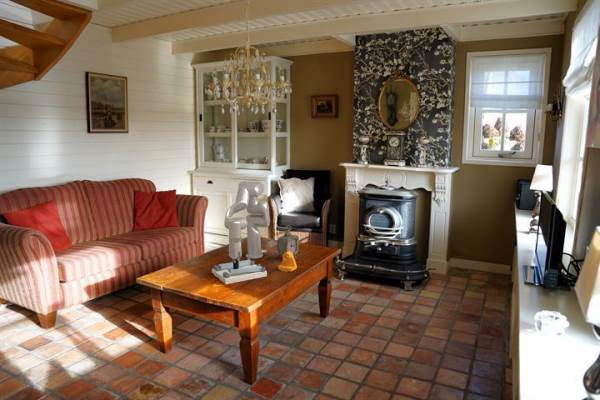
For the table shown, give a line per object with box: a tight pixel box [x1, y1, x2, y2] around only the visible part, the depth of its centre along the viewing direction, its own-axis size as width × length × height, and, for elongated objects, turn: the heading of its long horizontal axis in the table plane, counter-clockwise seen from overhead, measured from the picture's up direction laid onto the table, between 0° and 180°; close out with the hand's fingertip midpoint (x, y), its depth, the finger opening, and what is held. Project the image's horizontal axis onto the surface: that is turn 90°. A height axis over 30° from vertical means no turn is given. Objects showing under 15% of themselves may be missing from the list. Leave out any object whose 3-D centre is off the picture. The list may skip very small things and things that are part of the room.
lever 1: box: [217, 259, 252, 270], centre depth 300 cm, size 22×5×2 cm, turn 121°
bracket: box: [277, 251, 298, 273], centre depth 302 cm, size 11×7×12 cm, turn 62°
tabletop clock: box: [276, 224, 300, 259], centre depth 324 cm, size 14×9×25 cm, turn 143°
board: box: [211, 257, 268, 285], centre depth 293 cm, size 28×24×6 cm
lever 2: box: [228, 266, 263, 273], centre depth 287 cm, size 22×5×2 cm, turn 121°
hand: (236, 268), depth 283 cm, fingers closed
